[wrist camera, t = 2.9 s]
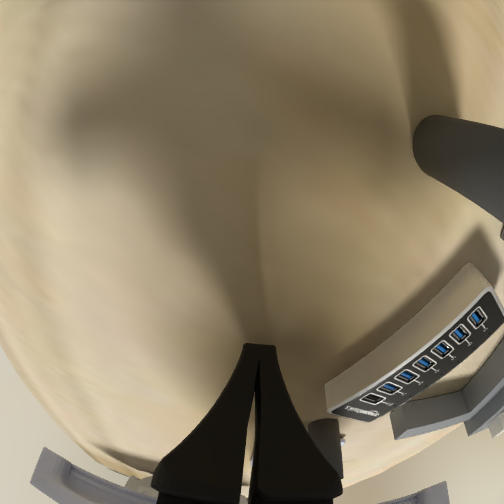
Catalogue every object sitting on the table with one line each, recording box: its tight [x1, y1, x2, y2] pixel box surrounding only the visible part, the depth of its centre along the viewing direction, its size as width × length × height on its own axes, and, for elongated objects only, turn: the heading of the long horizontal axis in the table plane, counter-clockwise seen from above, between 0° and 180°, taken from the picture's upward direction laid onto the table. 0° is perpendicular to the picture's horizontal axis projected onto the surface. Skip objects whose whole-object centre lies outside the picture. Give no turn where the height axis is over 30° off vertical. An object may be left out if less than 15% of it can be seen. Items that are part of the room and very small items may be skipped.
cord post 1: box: [308, 419, 343, 479], centre depth 15 cm, size 2×2×5 cm
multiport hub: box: [325, 263, 504, 422], centre depth 12 cm, size 4×11×2 cm, turn 146°
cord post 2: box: [413, 115, 504, 224], centre depth 5 cm, size 2×2×5 cm
